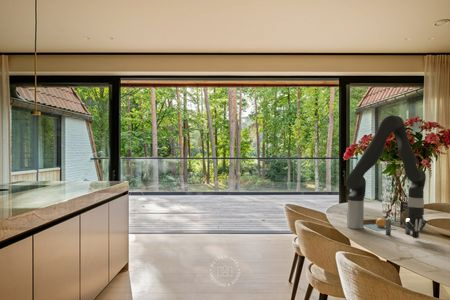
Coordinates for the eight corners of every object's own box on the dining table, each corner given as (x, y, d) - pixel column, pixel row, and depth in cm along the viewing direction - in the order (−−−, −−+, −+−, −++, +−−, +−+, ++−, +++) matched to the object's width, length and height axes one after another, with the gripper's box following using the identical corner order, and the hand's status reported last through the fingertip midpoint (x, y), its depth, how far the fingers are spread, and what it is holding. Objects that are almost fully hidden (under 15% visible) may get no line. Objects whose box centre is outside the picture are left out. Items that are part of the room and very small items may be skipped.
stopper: (354, 223, 216) (354, 219, 216) (378, 222, 219) (378, 218, 219) (356, 224, 214) (356, 220, 214) (380, 223, 217) (380, 219, 217)
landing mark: (362, 225, 211) (362, 224, 211) (381, 224, 214) (381, 224, 214) (376, 230, 197) (376, 230, 197) (396, 229, 200) (396, 229, 200)
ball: (374, 216, 206) (380, 221, 201) (383, 215, 207) (389, 221, 202) (372, 224, 209) (378, 229, 203) (381, 223, 210) (387, 229, 204)
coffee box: (399, 226, 208) (399, 201, 208) (406, 225, 211) (406, 200, 211) (412, 229, 200) (413, 203, 200) (419, 229, 203) (420, 203, 203)
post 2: (404, 233, 191) (404, 218, 191) (408, 233, 192) (408, 217, 192) (407, 234, 189) (407, 219, 189) (411, 234, 189) (411, 218, 189)
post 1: (384, 234, 189) (384, 218, 189) (388, 234, 189) (388, 218, 189) (387, 235, 186) (387, 219, 186) (391, 235, 187) (391, 219, 187)
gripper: (420, 204, 181) (420, 235, 181) (400, 204, 179) (399, 236, 179) (431, 206, 174) (431, 239, 174) (410, 207, 171) (410, 240, 171)
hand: (415, 237), depth 176 cm, fingers closed
